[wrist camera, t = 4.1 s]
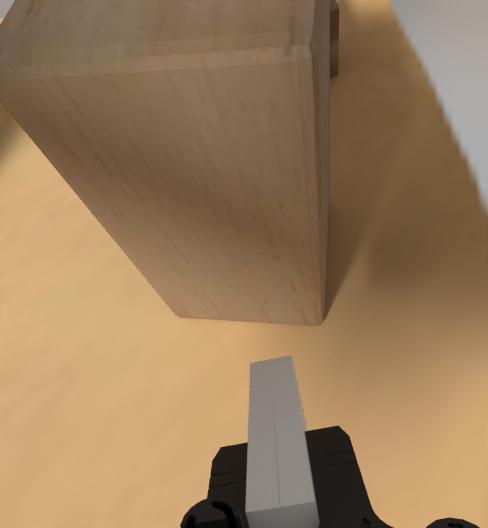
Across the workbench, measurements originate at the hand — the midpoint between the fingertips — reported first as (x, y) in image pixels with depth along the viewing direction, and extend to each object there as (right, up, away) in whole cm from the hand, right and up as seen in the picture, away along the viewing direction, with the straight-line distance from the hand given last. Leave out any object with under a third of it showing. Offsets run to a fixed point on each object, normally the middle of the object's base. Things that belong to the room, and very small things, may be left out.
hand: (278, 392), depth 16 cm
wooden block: (0, +5, +16) cm, 16 cm away
